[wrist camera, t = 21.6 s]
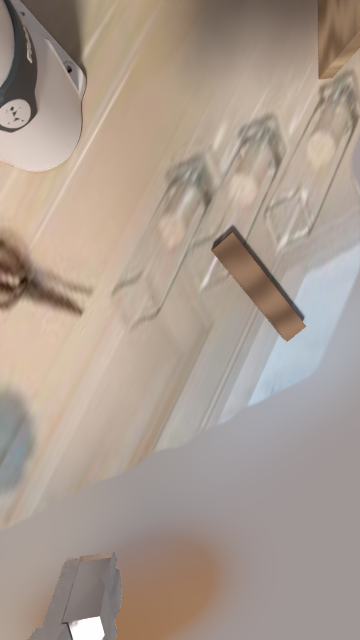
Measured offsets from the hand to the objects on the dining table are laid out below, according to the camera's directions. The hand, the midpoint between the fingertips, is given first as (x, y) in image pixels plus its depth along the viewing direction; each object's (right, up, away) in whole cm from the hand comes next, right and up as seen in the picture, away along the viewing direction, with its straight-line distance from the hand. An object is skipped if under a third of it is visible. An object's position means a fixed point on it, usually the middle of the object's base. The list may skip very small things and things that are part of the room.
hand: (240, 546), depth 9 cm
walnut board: (+11, +13, +36) cm, 40 cm away
